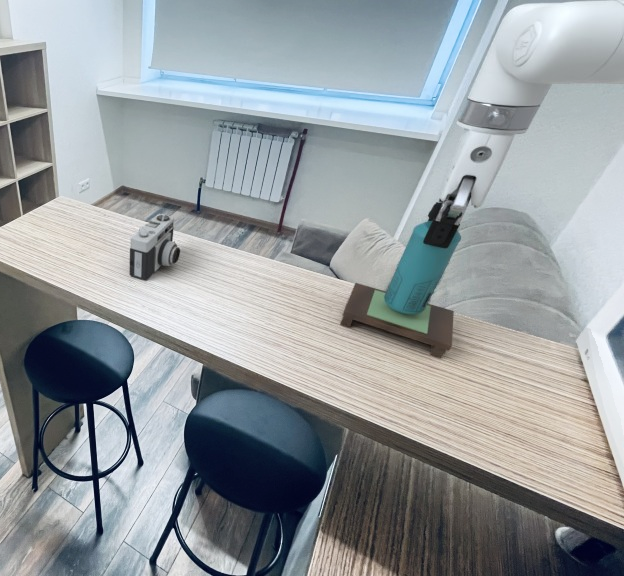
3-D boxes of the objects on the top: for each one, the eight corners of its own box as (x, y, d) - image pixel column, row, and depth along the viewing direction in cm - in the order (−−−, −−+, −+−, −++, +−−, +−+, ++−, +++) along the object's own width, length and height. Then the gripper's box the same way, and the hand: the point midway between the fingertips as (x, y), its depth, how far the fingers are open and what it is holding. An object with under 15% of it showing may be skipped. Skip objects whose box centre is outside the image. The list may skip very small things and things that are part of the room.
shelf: (445, 325, 75) (454, 310, 73) (442, 361, 68) (452, 344, 65) (349, 296, 83) (355, 281, 80) (338, 325, 75) (344, 310, 73)
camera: (161, 286, 87) (164, 245, 81) (128, 276, 90) (128, 235, 84) (187, 257, 96) (191, 218, 91) (155, 248, 100) (157, 211, 94)
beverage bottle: (419, 327, 69) (477, 219, 58) (375, 312, 72) (422, 208, 61) (423, 307, 73) (478, 203, 62) (381, 295, 77) (426, 194, 65)
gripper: (539, 134, 47) (464, 267, 57) (526, 107, 58) (465, 221, 68) (459, 126, 50) (402, 252, 60) (461, 102, 62) (413, 211, 72)
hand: (436, 235), depth 64 cm, fingers closed on beverage bottle, 6 cm apart
